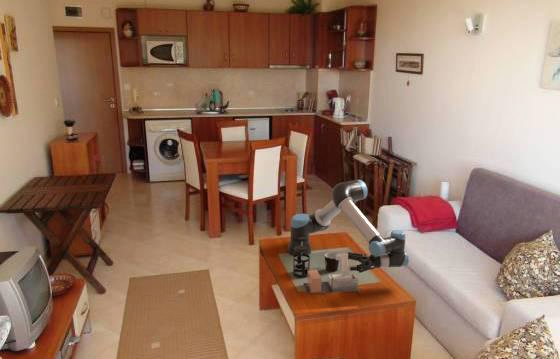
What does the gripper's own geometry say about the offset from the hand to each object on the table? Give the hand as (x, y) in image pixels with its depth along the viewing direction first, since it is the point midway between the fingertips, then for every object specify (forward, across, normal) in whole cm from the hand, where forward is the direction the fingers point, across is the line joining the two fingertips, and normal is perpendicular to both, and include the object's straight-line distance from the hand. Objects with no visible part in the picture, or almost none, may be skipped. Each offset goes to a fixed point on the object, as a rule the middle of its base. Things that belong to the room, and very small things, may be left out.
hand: (339, 262), depth 232 cm
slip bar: (-1, 0, -12) cm, 12 cm away
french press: (+17, +17, -15) cm, 28 cm away
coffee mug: (-2, +22, -15) cm, 27 cm away
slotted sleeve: (+4, 0, -15) cm, 15 cm away
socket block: (+13, 0, -13) cm, 19 cm away
